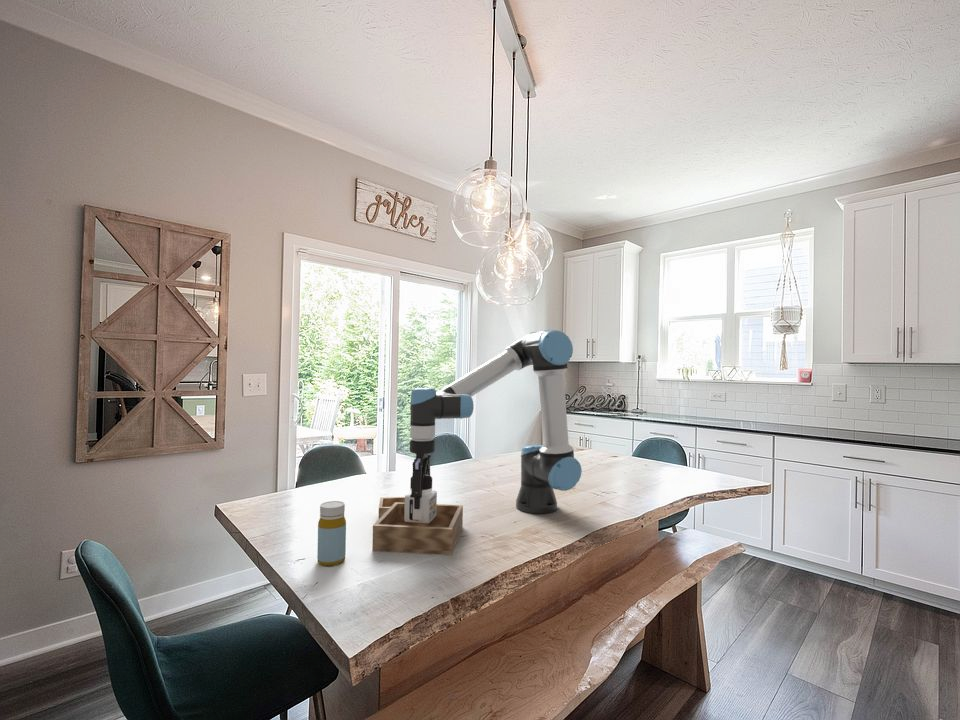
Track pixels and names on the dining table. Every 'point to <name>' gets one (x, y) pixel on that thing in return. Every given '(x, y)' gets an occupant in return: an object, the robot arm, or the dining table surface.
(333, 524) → the bottle
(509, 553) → the dining table surface
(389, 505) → the small crate
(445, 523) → the crate
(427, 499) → the container
